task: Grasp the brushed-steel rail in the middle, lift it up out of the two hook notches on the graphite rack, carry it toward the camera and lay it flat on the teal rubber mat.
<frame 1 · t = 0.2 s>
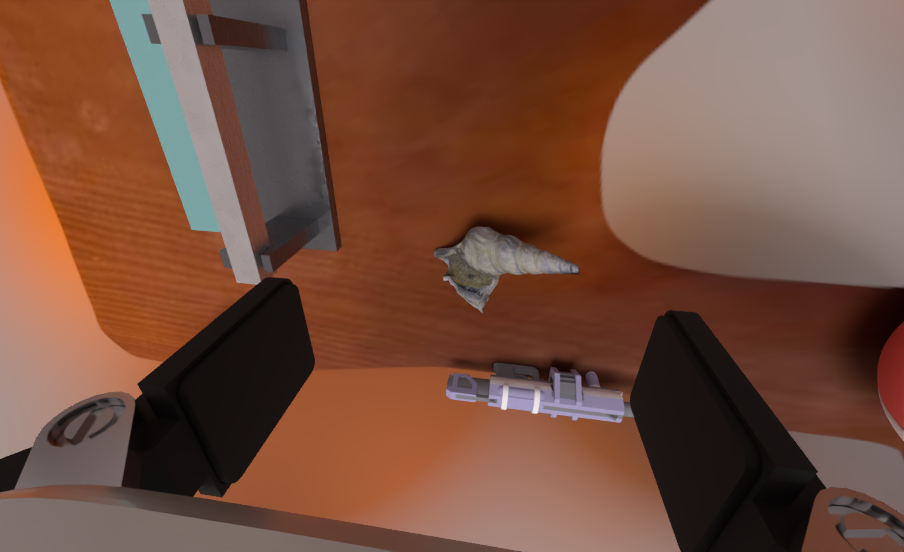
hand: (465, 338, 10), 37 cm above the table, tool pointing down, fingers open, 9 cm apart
seashell: (498, 252, 49), on the table
toy gun: (541, 368, 57), on the table
rack: (288, 140, 45), on the table
mat: (188, 119, 46), on the table
rail: (235, 157, 37), point 10 cm above the table, touching rack
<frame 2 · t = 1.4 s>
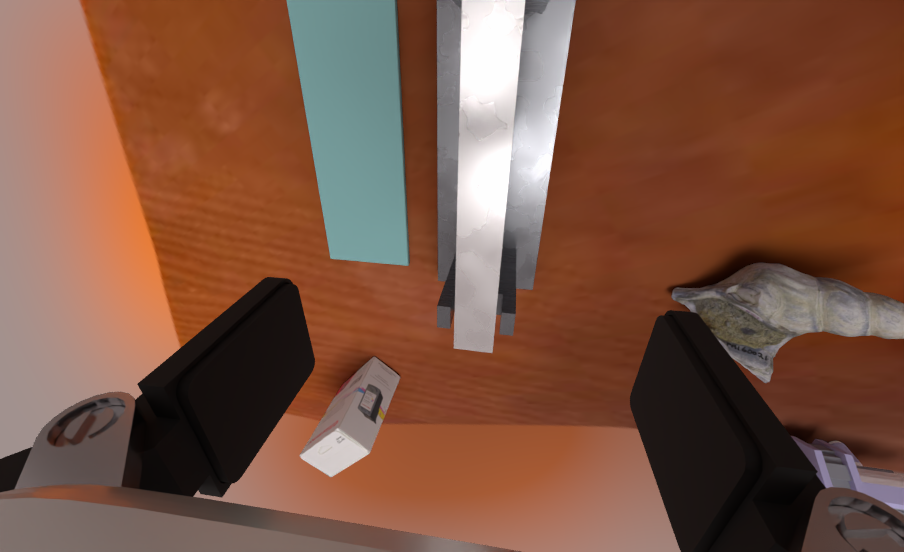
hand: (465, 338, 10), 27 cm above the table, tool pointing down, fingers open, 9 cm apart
ink box: (370, 378, 51), on the table
seashell: (758, 293, 36), on the table
toy gun: (763, 434, 45), on the table
rack: (495, 144, 33), on the table
mat: (355, 114, 34), on the table
rail: (486, 171, 24), point 10 cm above the table, touching rack
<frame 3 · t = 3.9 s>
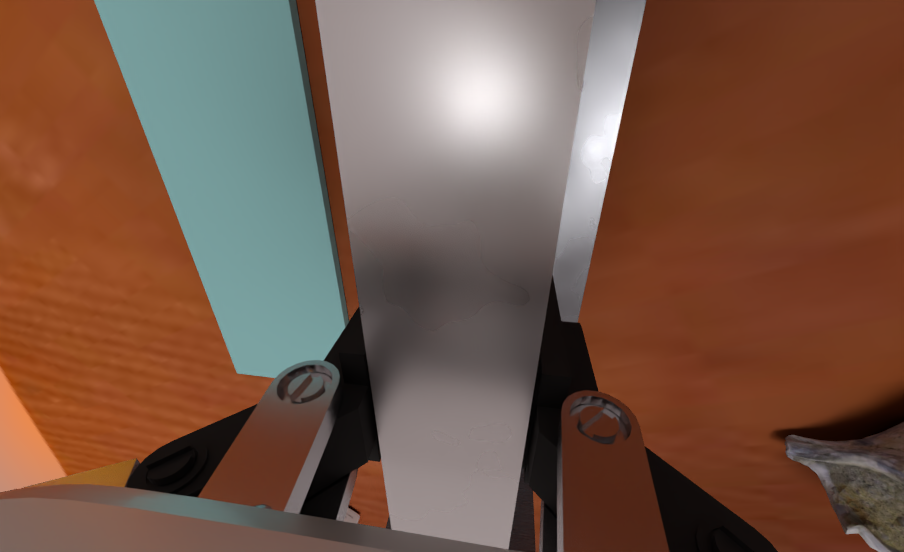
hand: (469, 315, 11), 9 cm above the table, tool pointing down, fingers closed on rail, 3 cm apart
rack: (488, 212, 18), on the table
mat: (241, 162, 19), on the table
rail: (466, 336, 10), point 10 cm above the table, touching gripper, rack
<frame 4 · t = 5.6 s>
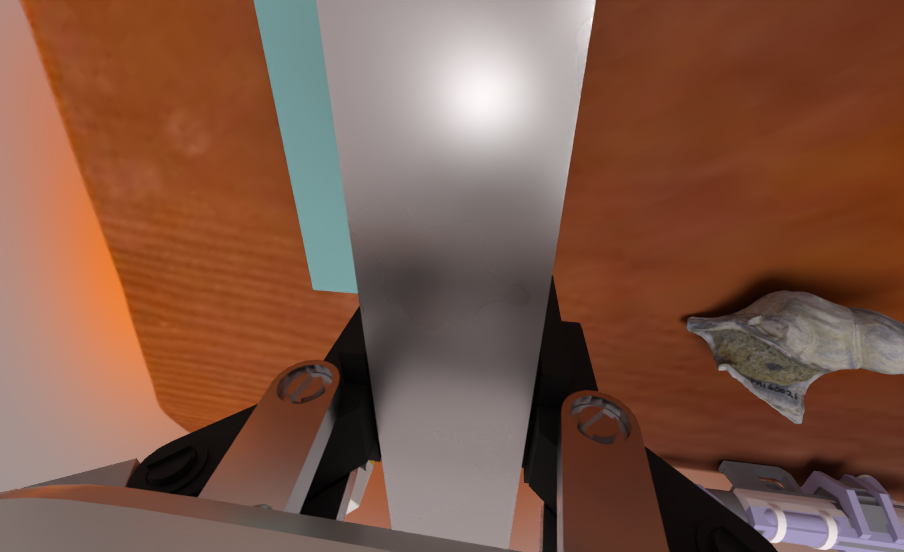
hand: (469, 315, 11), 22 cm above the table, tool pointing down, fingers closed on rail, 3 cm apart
ink box: (360, 414, 47), on the table
seashell: (780, 321, 33), on the table
toy gun: (787, 468, 42), on the table
mat: (336, 135, 30), on the table
rail: (466, 336, 10), point 23 cm above the table, touching gripper
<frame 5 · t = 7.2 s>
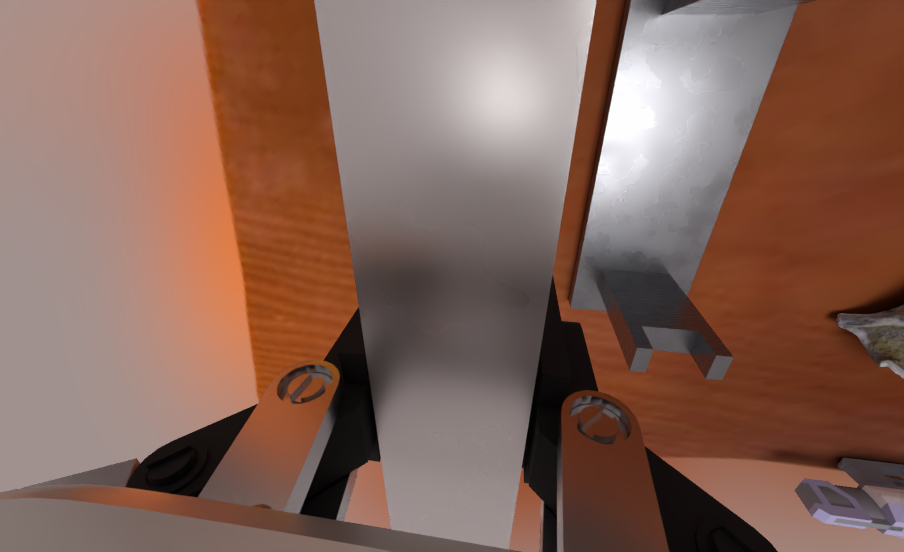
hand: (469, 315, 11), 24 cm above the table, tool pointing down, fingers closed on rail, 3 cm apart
rack: (659, 160, 30), on the table
rail: (465, 338, 10), point 25 cm above the table, touching gripper
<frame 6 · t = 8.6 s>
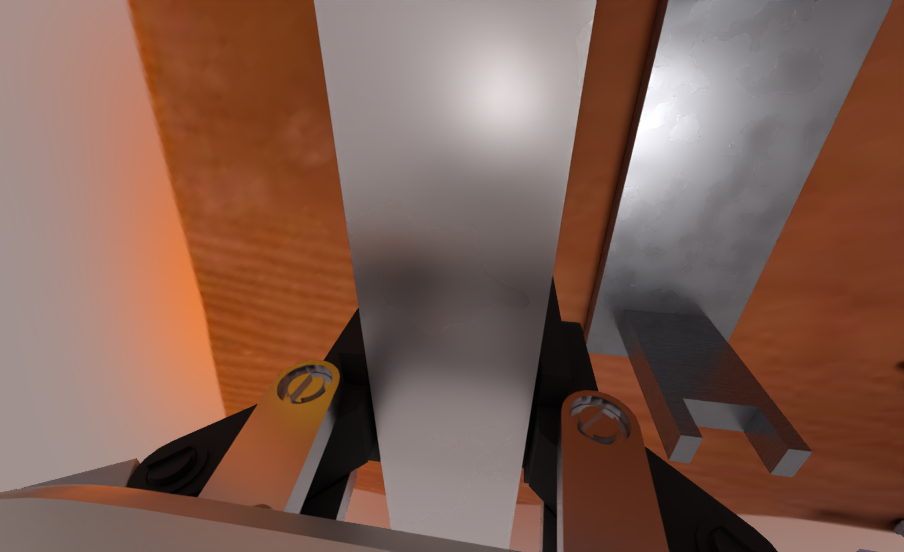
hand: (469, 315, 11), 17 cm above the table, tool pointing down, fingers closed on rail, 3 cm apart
rack: (700, 179, 24), on the table
rail: (465, 338, 10), point 18 cm above the table, touching gripper
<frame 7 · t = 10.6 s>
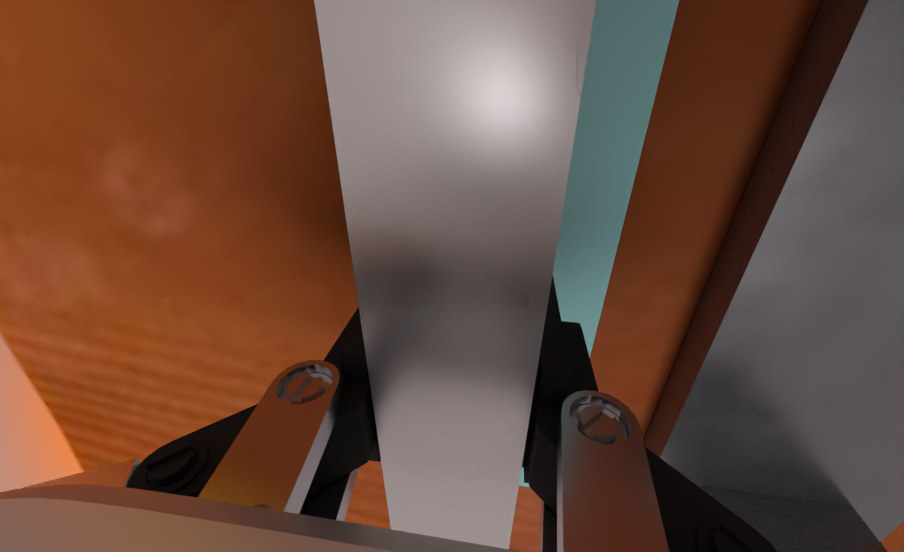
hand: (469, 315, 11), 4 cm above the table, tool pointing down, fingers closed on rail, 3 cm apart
rack: (873, 286, 12), on the table
mat: (485, 206, 13), on the table
rail: (465, 338, 10), point 5 cm above the table, touching gripper
when the fingers open (1 cm above the table, at t = 11.6 s): rail drops 2 cm, resting on mat.
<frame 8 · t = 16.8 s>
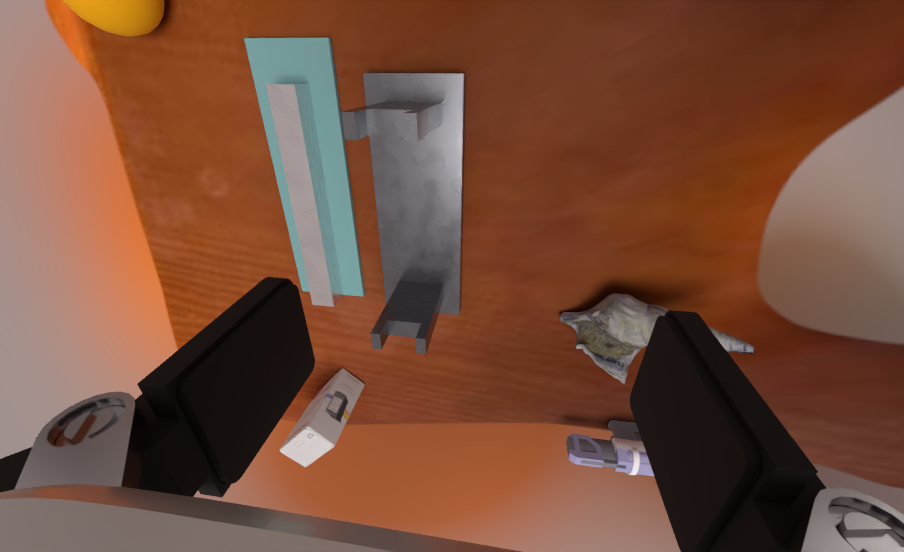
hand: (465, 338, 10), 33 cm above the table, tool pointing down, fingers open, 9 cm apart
ink box: (341, 385, 61), on the table
seashell: (627, 314, 47), on the table
toy gun: (658, 426, 55), on the table
rack: (421, 207, 44), on the table
mat: (315, 185, 44), on the table
rail: (317, 203, 45), point 1 cm above the table, touching mat
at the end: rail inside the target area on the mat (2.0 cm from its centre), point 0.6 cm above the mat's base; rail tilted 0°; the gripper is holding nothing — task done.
